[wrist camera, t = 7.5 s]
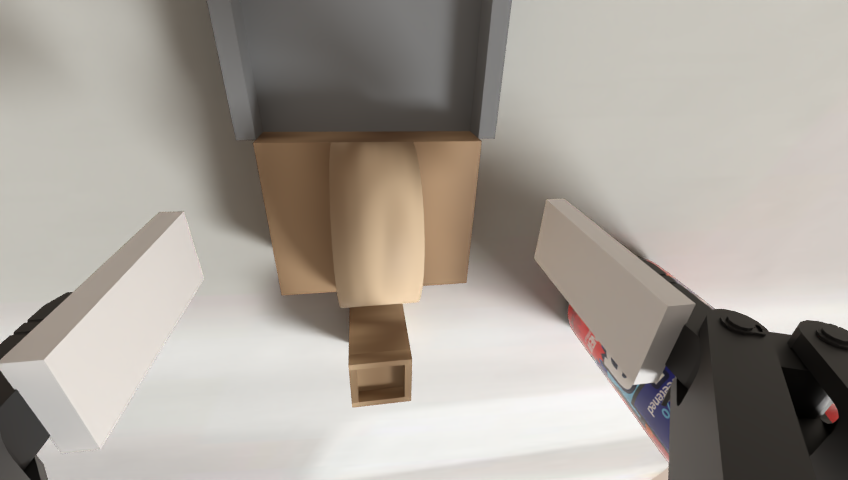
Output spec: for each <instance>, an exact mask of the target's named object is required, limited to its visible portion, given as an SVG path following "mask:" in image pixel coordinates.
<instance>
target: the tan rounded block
mask: <svg viewBox="0 0 848 480" xmlns="http://www.w3.org/2000/svg"><path fill="white" fill-rule="evenodd" d="M481 142H482V141H481V140H480V139H478V138H477V137H476V136H475V135H474V134H473V133H472V132H470V131H381V132H262V134H261V135H260V136H259V137H258V138H257V139H256V140H255V141H254V142H253V146H254V151H255V156H256V162H257V167H258V172H259V178H260V183H261V188H262V194H263V199H264V204H265V209H266V215H267V220H268V225H269V231H270V236H271V241H272V247H273V252H274V257H275V263H276V268H277V273H278V279H279V284H280V289H281V295H296V294H310V293H325V292H337V296H338V301H339V305H340V308H349V307H362V306H376V305H389V304H402V303H416V302H419V300H420V297H421V293H422V287H423V286H427V285H442V284H457V283H466V282H467V272H468V263H469V254H470V244H471V235H472V226H473V217H474V207H475V198H476V189H477V179H478V170H479V161H480V152H481Z"/></svg>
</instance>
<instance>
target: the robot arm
mask: <svg viewBox="0 0 848 480" xmlns="http://www.w3.org/2000/svg"><path fill="white" fill-rule="evenodd" d="M534 259H535V261H536V262H537V263H538V264H539V266H540V267H541V268H542V270H543V271H544V272H545V273H546V275H547V276H548V277H549V278H550V280H551V281H552V282H553V284H554V285H555V286H556V287H557V289H558V290H559V291H560V292H561V294H562V295H563V296H564V298H565V299H566V300H567V301H568V303H569V304H570V305H571V306H572V308H573V309H574V310H575V312H576V313H577V314H578V315H579V317H580V318H581V319H582V320H583V322H584V323H585V324H586V326H587V327H588V328H589V329H590V331H591V332H592V333H593V334H594V336H595V337H596V338H597V340H598V341H599V342H600V343H601V345H602V346H603V347H604V349H605V350H606V351H607V352H608V354H609V355H610V356H611V357H612V359H613V360H614V361H615V363H616V364H617V365H618V366H619V368H620V369H621V370H622V371H623V373H624V374H625V375H626V377H627V378H628V379H629V380H630V382H631V383H632V384H633V385H637V384H646V383H654V382H658V381H659V379H660V376H661V374H662V372H663V370H664V368H665V366H666V367H667V368H668V369H669V370H670V371H671V372H672V373H673V374H674V375H675V378H674V380H673V382H672V383H671V385H670V387H669V389H668V391H667V393H666V395H665V397H664V399H663V401H662V404H661V405H662V406H665V407H666V405H667V403H668V402H669V401H670V433H669V476H668V480H848V331H847V330H845V329H843V328H841V327H839V328H838V326H835V325H832V324H827V323H823V322H819V321H810V320H806V321H802V322H800V323H799V325H798V326H797V328H796V329H795V331H794V332H793V334H792V335H788V334H780V333H773V332H768V330H767V329H766V328H765V327H764V326H762V325H761V324H760V323H759V322H757V321H755V320H753V319H752V318H750V317H748V316H746V315H743V314H740V313H738V312H735V311H730V310H726V309H713V310H712V309H711V308H710V307H709V306H707V305H706V304H705V303H704V302H702V301H701V300H700V299H698V298H697V297H696V296H695V295H693V294H692V293H691V292H689V291H688V290H687V289H686V288H684V287H683V286H682V285H680V284H677V281H675V280H674V279H673V278H671V277H670V276H667V275H666V273H665V272H664V271H663V270H661V269H660V268H659V267H657V266H656V265H655V264H653V263H651V262H649V261H647V260H645V259H643V258H641V257H639V256H635V255H634V254H633V253H632V252H630V251H629V250H628V249H627V248H625V247H624V246H623V245H622V244H620V243H619V242H618V241H617V240H615V239H614V238H613V237H612V236H610V235H609V234H608V233H607V232H606V231H604V230H603V229H602V228H601V227H599V226H598V225H597V224H596V223H594V222H593V221H592V220H591V219H589V218H588V217H587V216H586V215H584V214H583V213H582V212H581V211H579V210H578V209H577V208H576V207H574V206H573V205H572V204H571V203H569V202H568V201H567V200H566V199H546V203H545V208H544V213H543V218H542V222H541V227H540V232H539V237H538V242H537V247H536V251H535V256H534ZM203 280H204V276H203V272H202V269H201V266H200V262H199V259H198V256H197V253H196V249H195V246H194V243H193V239H192V236H191V233H190V230H189V226H188V223H187V220H186V216H185V213H184V211H178V212H159V213H158V214H157V215H156V216H154V217H153V218H152V219H151V220H150V221H149V222H148V223H147V224H146V225H145V226H144V227H143V228H142V229H140V230H139V231H138V232H137V233H136V234H135V235H134V236H133V237H132V238H131V239H130V240H129V241H128V242H127V243H125V244H124V245H123V246H122V247H121V248H120V249H119V250H118V251H117V252H116V253H115V254H114V255H113V256H111V257H110V258H109V259H108V260H107V261H106V262H105V263H104V264H103V265H102V266H101V267H100V268H99V269H97V270H96V271H95V272H94V273H93V274H92V275H91V276H90V277H89V278H88V279H87V280H86V281H85V282H83V283H82V284H81V285H80V286H79V287H78V288H77V289H76V290H75V291H74V292H68V293H65V294H63V295H62V296H60V297H58V298H56V299H55V300H53V301H51V302H49V303H48V304H46V305H44V306H43V307H42V308H41V309H39V310H38V311H37V312H36V313H35V314H34V315H33V316H32V317H30V318H29V319H28V322H27V323H24V324H22V325H21V326H20V327H19V328H18V329H17V330H16V331H15V332H14V335H11V336H9V337H8V338H7V339H6V340H4V341H3V342H2V343H1V344H0V480H48V478H47V475H46V471H45V468H44V464H43V463H42V462H41V460H40V459H39V458H38V457H37V455H36V454H37V453H38V451H39V450H40V449H41V447H42V446H43V445H44V443H45V442H46V441H47V439H48V438H50V439H51V441H52V442H53V443H54V445H55V446H56V447H57V449H58V450H59V451H60V453H61V454H66V453H75V452H83V451H91V450H100V449H101V448H102V446H103V445H104V443H105V441H106V440H107V438H108V436H109V435H110V433H111V432H112V430H113V428H114V427H115V425H116V423H117V422H118V420H119V418H120V417H121V415H122V413H123V412H124V410H125V408H126V407H127V405H128V404H129V402H130V400H131V399H132V397H133V395H134V394H135V392H136V390H137V389H138V387H139V385H140V384H141V382H142V380H143V379H144V377H145V375H146V374H147V372H148V371H149V369H150V367H151V366H152V364H153V362H154V361H155V359H156V357H157V356H158V354H159V352H160V351H161V349H162V347H163V346H164V344H165V343H166V341H167V339H168V338H169V336H170V334H171V333H172V331H173V329H174V328H175V326H176V324H177V323H178V321H179V319H180V318H181V316H182V314H183V313H184V311H185V310H186V308H187V306H188V305H189V303H190V301H191V300H192V298H193V296H194V295H195V293H196V291H197V290H198V288H199V286H200V285H201V283H202V281H203ZM832 403H834V404H835V406H836V408H837V410H838V415H839V418H838V419H837V420H836V421H835V422H833V423H832V422H831V421H830V420H829V418H828V417H827V415H826V414H825V412H826V410H827V409H828V408H829V407H830V406H831V405H832Z"/></svg>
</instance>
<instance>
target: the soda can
mask: <svg viewBox="0 0 848 480" xmlns="http://www.w3.org/2000/svg"><path fill="white" fill-rule="evenodd" d="M645 260H646V259H645ZM647 261H649V260H647ZM649 262H651V263H653V264H655V263H654V262H652V261H649ZM655 265H656V266H657V267H659V268H660V269H661V270H663V271H664V272H665V273H666V275H667V276H670V277H671V278H673V279H674V280H675V281H677V284H680V285H682V286H683V287H684V288H686V289H687V290H688V291H689V292H691V293H692V294H693V295H695V296H696V297H697V298H698V299H700V300H701V301H702V302H704V303H705V304H706V305H707V306H709V307H710V308H711V309H712V310H713V309H715V308H713V307H712V306H711V305H709V304H708V303H707V302H705V301H704V300H703V299H702V298H700V297H699V296H698V295H696V294H695V293H694V292H693V291H691V290H690V289H689V288H687V287H686V286H685V285H684V284H682V283H681V282H680V281H678V280H677V279H676V278H674V277H673V276H672V275H671V274H669V273H668V272H667V271H665V270H664V269H663V268H661V267H660V266H659V265H657V264H655ZM568 321H569V324H570V327H571V328H572V330H573V332H574V333H575V335H576V336H577V338H578V339H579V340H580V342H581V343H582V345H583V346H584V347H585V349H586V350H587V351H588V353H589V354H590V356H591V357H592V358H593V360H594V361H595V363H596V364H597V365H598V367H599V368H600V369H601V371H602V372H603V374H604V375H605V376H606V378H607V379H608V381H609V382H610V383H611V385H612V386H613V387H614V389H615V390H616V392H617V393H618V394H619V396H620V397H621V398H622V400H623V401H624V403H625V404H626V405H627V407H628V408H629V410H630V411H631V412H632V414H633V415H634V416H635V418H636V419H637V421H638V422H639V423H640V425H641V426H642V427H643V429H644V430H645V432H646V433H647V434H648V436H649V437H650V439H651V440H652V441H653V443H654V444H655V445H656V447H657V448H658V450H659V451H660V452H661V454H662V455H663V456H664V458H665V459H666V461H667V462H668V463H669V433H670V401H669V402H668V403H667V405H666V407H665V406H662V405H661V404H662V401H663V399H664V397H665V395H666V393H667V391H668V389H669V387H670V385H671V383H672V382H673V380H674V378H675V375H674V374H673V373H672V372H671V371H670V370H669V369H668V368H667V367H666V366H665V368H664V370H663V372H662V374H661V376H660V379H659V381H658V382H654V383H646V384H637V385H633V384H632V383H631V382H630V380H629V379H628V378H627V377H626V375H625V374H624V373H623V371H622V370H621V369H620V368H619V366H618V365H617V364H616V363H615V361H614V360H613V359H612V357H611V356H610V355H609V354H608V352H607V351H606V350H605V349H604V347H603V346H602V345H601V343H600V342H599V341H598V340H597V338H596V337H595V336H594V334H593V333H592V332H591V331H590V329H589V328H588V327H587V326H586V324H585V323H584V322H583V320H582V319H581V318H580V317H579V315H578V314H577V313H576V312H575V310H574V309H573V308H572V306H571V305H570V304H569V307H568ZM825 414H826V415H827V417H828V418H829V420H830V421H831V422H832V423H833V422H835V421H836V420H837V419H838V418H839V415H838V410H837V408H836V406H835V404H834V403H832V405H831V406H830V407H829V408H828V409H827V410H826V412H825Z"/></svg>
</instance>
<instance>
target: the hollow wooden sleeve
mask: <svg viewBox="0 0 848 480" xmlns="http://www.w3.org/2000/svg"><path fill="white" fill-rule="evenodd" d="M349 376H350V387H351V398H352V408H353V407H361V406H370V405H379V404H387V403H396V402H404V401H411V381H412V356H411V350H410V345H409V339H408V333H407V327H406V322H405V316H404V310H403V304H389V305H376V306H362V307H350V315H349Z"/></svg>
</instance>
